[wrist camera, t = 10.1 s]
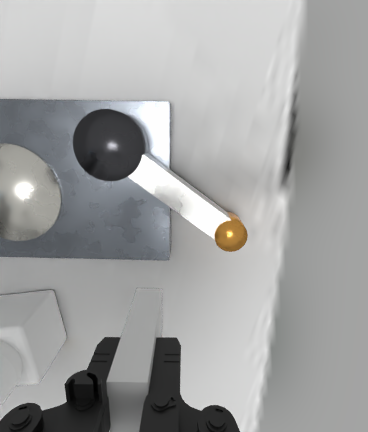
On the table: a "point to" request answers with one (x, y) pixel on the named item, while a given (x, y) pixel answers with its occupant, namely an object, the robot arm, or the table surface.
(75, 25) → the table surface
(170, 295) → the table surface
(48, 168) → the dark grey base plate
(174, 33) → the table surface
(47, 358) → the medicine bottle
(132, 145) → the ball lever handle
